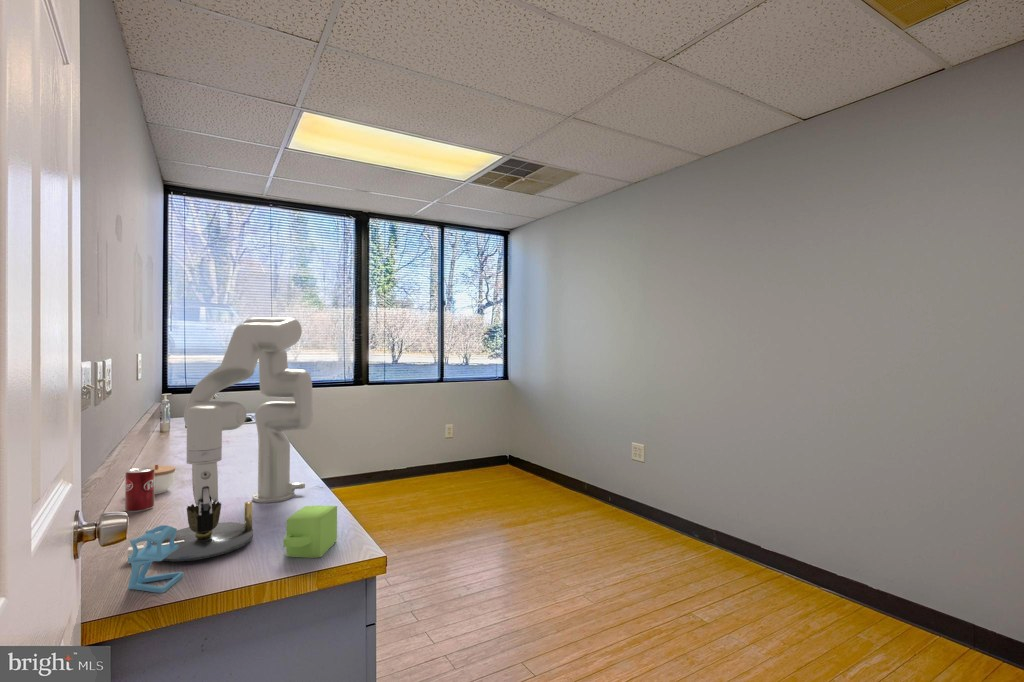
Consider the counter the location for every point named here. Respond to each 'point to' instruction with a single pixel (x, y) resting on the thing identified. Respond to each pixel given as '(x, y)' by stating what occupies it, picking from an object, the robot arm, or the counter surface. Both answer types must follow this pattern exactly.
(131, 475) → the soda can
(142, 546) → the turntable base
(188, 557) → the turntable
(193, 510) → the cup
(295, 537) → the gearbox
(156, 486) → the lidded jar
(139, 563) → the chair
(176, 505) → the counter surface
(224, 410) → the robot arm
